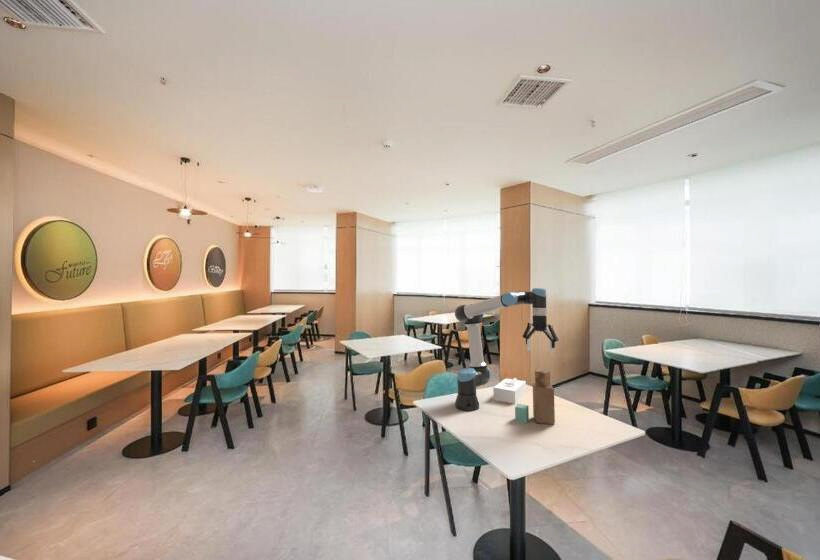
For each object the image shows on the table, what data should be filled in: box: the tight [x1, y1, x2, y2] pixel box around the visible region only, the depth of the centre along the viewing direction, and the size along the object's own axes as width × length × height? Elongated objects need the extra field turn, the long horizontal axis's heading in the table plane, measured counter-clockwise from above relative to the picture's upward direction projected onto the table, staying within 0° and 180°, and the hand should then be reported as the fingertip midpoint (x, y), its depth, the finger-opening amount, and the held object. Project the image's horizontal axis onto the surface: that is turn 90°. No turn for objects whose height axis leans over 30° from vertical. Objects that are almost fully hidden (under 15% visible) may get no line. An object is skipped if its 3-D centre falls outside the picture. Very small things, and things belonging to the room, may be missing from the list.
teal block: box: [514, 403, 530, 424], centre depth 188 cm, size 6×6×8 cm
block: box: [532, 382, 556, 425], centre depth 187 cm, size 10×10×20 cm
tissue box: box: [493, 377, 527, 405], centre depth 228 cm, size 14×25×11 cm, turn 145°
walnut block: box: [534, 368, 551, 387], centre depth 188 cm, size 6×6×8 cm
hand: (540, 352), depth 190 cm, fingers open, 13 cm apart
